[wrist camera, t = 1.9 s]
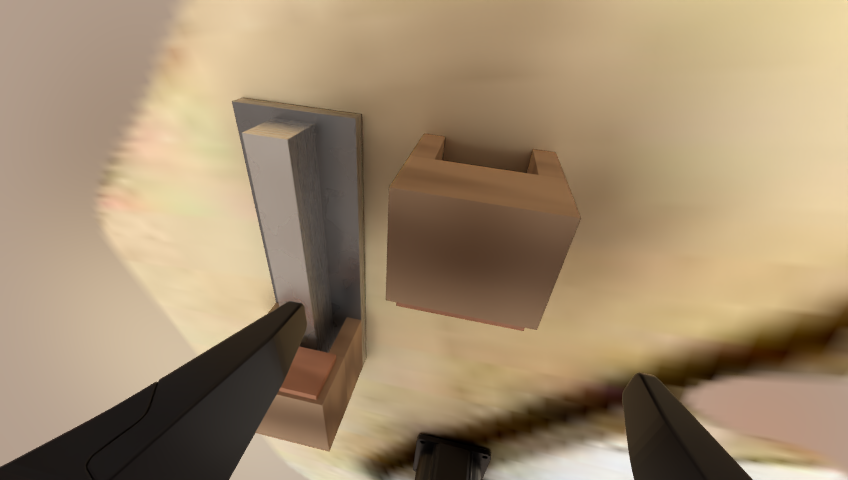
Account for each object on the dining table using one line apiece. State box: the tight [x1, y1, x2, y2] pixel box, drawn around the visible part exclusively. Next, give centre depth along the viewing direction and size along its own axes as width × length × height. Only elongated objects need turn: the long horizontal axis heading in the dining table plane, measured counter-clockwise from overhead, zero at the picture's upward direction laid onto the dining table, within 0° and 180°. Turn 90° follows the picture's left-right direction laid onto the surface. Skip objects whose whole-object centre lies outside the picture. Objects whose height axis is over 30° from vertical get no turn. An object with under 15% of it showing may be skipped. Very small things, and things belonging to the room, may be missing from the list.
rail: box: [232, 98, 366, 365], centre depth 20 cm, size 18×6×3 cm, turn 175°
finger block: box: [386, 134, 581, 331], centre depth 15 cm, size 5×6×6 cm
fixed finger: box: [255, 303, 363, 451], centre depth 22 cm, size 5×6×6 cm
